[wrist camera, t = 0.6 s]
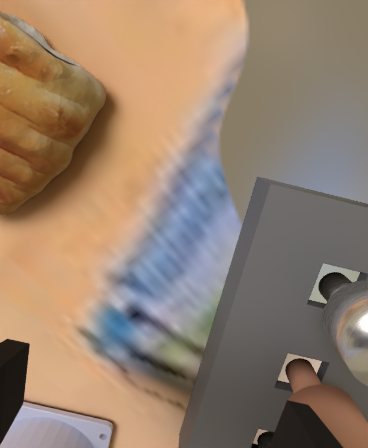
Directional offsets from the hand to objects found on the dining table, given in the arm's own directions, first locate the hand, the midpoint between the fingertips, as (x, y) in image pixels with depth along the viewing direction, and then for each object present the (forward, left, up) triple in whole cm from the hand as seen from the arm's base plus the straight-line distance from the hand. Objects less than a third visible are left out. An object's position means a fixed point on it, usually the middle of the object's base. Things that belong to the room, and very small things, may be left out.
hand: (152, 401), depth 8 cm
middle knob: (-3, -8, -7) cm, 11 cm away
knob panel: (-3, -8, -9) cm, 12 cm away
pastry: (+6, +9, -10) cm, 15 cm away
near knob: (+2, -8, -7) cm, 10 cm away
